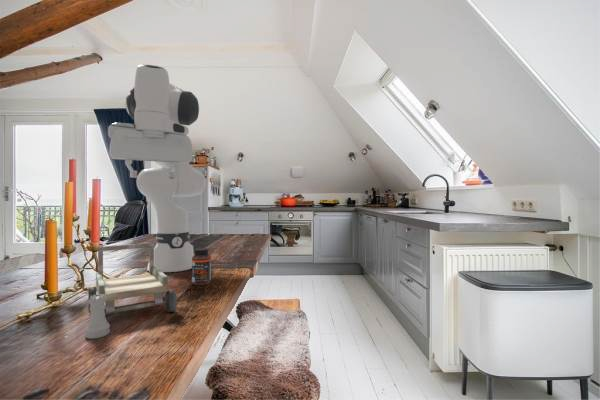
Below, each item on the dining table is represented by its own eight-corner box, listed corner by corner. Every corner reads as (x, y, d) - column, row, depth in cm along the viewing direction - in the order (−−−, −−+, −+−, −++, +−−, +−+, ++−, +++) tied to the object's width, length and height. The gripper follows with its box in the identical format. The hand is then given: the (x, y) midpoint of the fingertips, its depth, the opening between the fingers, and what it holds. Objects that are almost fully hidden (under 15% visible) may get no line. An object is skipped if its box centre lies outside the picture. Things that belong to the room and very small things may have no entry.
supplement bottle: (192, 287, 100) (192, 250, 100) (190, 282, 105) (190, 248, 105) (212, 285, 102) (212, 249, 102) (209, 280, 108) (209, 246, 108)
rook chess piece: (82, 334, 66) (82, 295, 66) (107, 328, 69) (107, 291, 69) (86, 341, 62) (86, 300, 62) (112, 335, 65) (112, 295, 65)
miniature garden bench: (88, 305, 83) (87, 246, 83) (159, 293, 93) (159, 240, 92) (91, 331, 67) (90, 257, 67) (176, 313, 77) (176, 249, 77)
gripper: (108, 118, 77) (109, 176, 78) (194, 128, 89) (194, 178, 89) (106, 123, 83) (107, 177, 83) (187, 132, 94) (188, 179, 94)
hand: (153, 178), depth 86 cm, fingers open, 8 cm apart
